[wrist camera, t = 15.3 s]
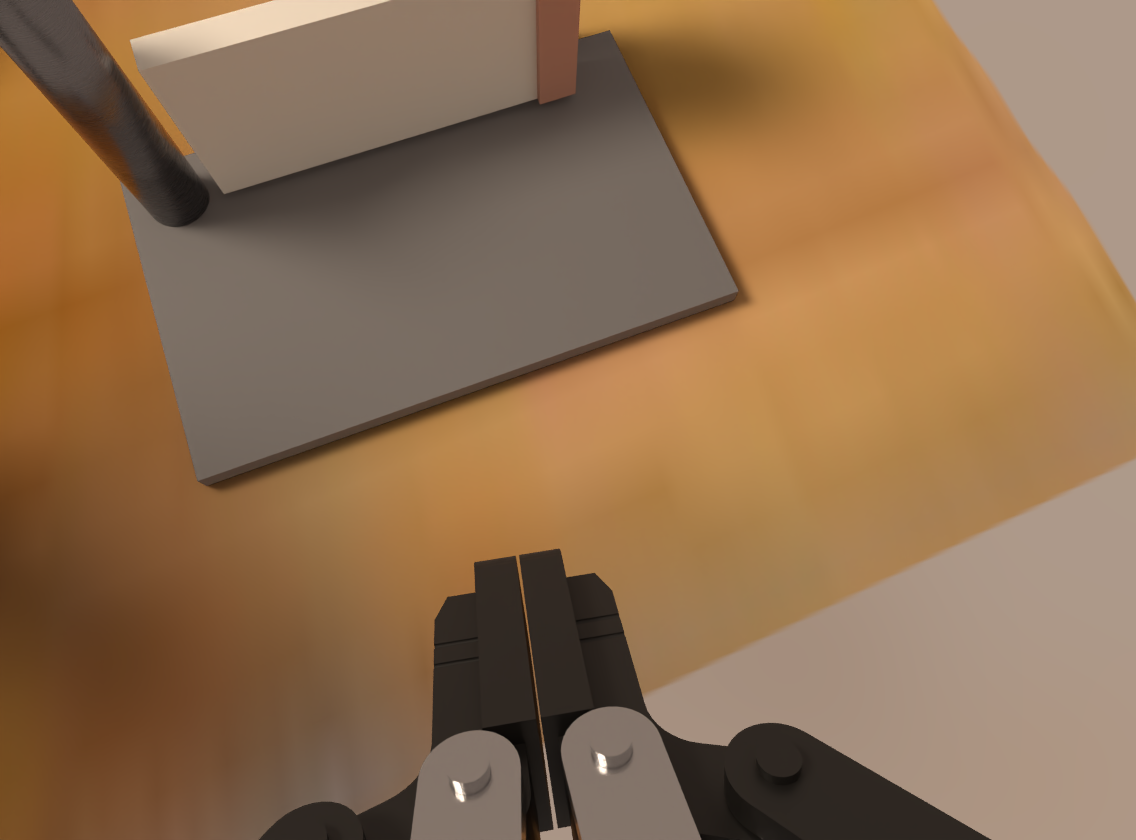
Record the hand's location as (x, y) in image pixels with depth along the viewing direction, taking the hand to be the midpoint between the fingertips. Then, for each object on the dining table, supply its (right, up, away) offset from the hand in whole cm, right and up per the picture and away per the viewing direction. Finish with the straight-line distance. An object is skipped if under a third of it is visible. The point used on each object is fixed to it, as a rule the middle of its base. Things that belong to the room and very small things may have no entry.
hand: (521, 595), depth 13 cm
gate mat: (-6, +12, +26) cm, 30 cm away
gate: (-8, +18, +27) cm, 33 cm away
